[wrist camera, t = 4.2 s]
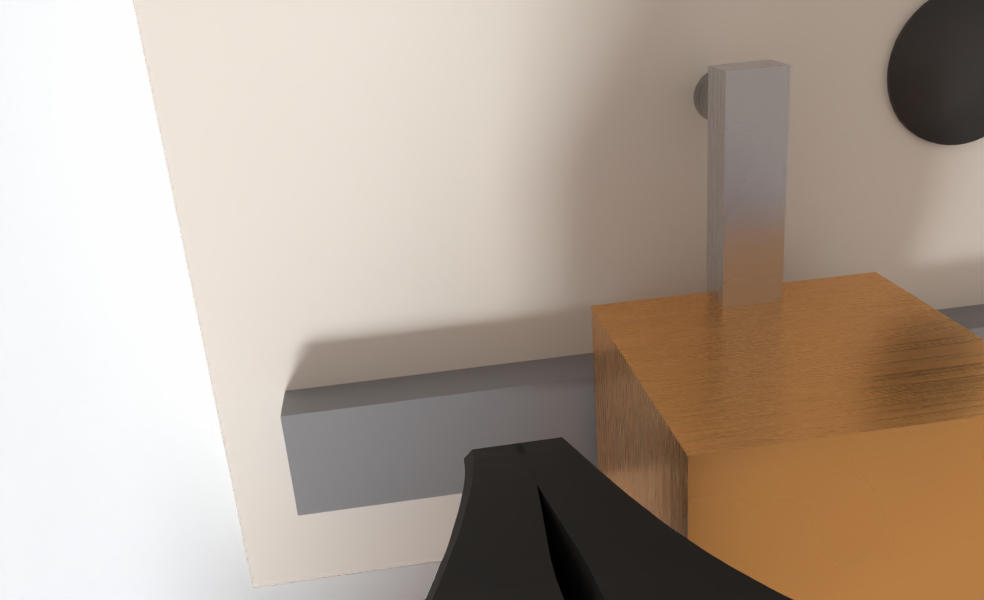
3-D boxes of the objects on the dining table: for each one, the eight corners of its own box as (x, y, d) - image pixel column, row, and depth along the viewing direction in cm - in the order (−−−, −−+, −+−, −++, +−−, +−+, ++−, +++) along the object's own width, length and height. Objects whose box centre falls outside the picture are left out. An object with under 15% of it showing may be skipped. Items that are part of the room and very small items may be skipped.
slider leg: (590, 528, 15) (688, 776, 10) (569, 71, 12) (687, 138, 8) (835, 493, 15) (1030, 717, 11) (863, 43, 12) (1137, 92, 8)
